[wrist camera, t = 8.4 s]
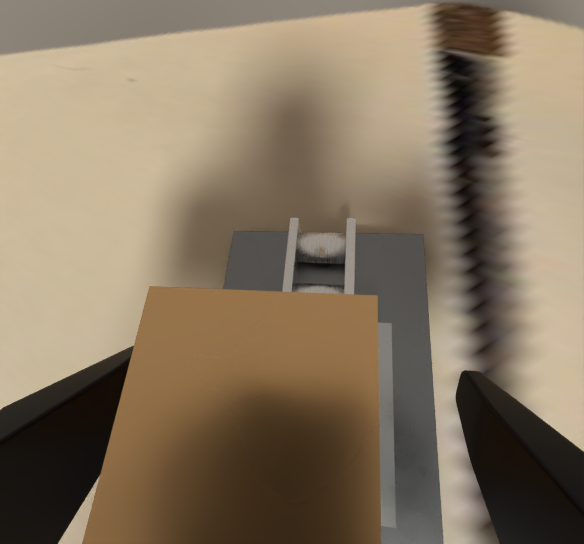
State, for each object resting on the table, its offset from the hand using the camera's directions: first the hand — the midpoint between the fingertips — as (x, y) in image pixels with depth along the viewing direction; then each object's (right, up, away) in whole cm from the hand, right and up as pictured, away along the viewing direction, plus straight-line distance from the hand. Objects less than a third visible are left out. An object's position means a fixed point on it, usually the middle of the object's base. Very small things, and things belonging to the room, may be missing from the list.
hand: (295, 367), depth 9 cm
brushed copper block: (+1, -4, +7) cm, 8 cm away
